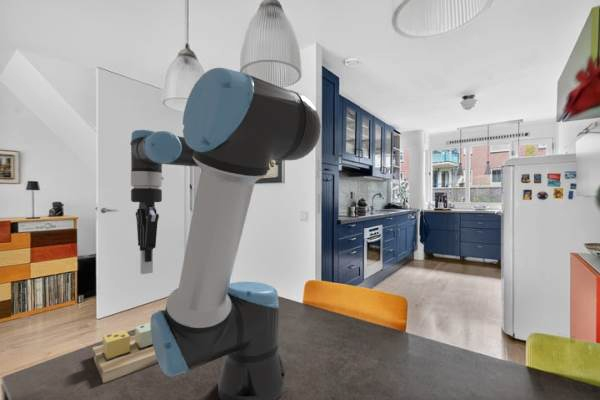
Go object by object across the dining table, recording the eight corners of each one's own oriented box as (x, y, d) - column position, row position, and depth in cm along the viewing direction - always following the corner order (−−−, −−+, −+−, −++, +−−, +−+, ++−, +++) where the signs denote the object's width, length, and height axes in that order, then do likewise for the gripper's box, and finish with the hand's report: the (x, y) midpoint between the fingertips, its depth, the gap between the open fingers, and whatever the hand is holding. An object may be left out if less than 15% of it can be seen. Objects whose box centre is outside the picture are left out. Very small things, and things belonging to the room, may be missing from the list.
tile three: (129, 351, 74) (129, 335, 74) (106, 358, 71) (106, 342, 71) (125, 344, 78) (125, 329, 78) (103, 350, 74) (103, 335, 74)
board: (199, 347, 82) (199, 338, 82) (103, 383, 66) (103, 372, 66) (179, 329, 93) (179, 322, 93) (92, 356, 77) (92, 347, 77)
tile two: (160, 341, 79) (160, 326, 79) (140, 347, 76) (140, 332, 76) (154, 335, 83) (154, 321, 83) (135, 341, 80) (135, 326, 80)
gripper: (169, 187, 77) (168, 275, 77) (154, 188, 86) (153, 266, 87) (138, 187, 72) (137, 280, 72) (125, 187, 81) (125, 270, 81)
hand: (146, 272), depth 79 cm, fingers closed
